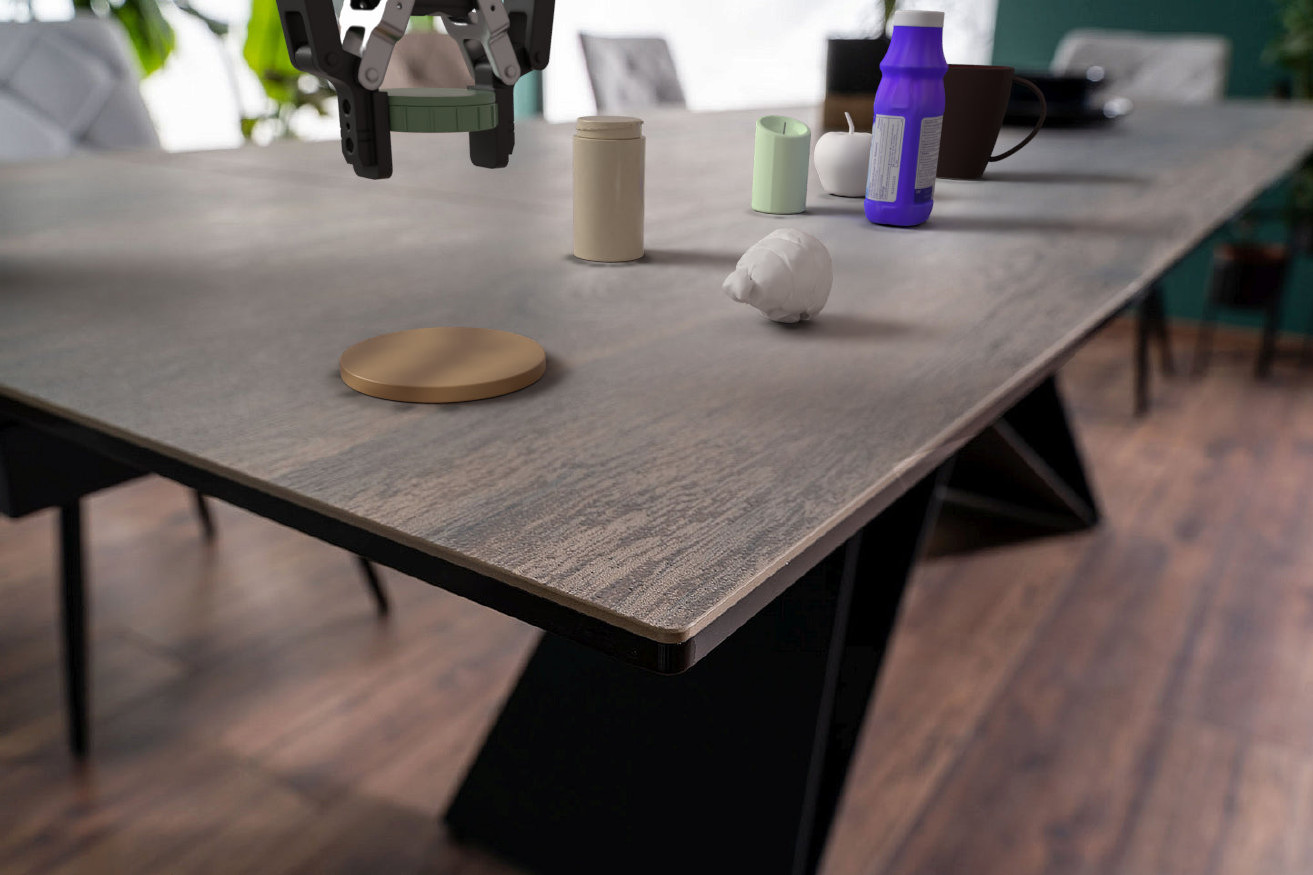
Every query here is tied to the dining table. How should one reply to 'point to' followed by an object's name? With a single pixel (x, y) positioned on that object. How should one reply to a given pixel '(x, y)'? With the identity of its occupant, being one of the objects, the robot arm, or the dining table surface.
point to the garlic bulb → (783, 276)
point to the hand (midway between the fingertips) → (434, 170)
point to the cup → (977, 118)
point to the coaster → (442, 364)
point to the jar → (608, 188)
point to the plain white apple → (843, 161)
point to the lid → (441, 110)
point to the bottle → (907, 121)
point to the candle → (780, 165)
